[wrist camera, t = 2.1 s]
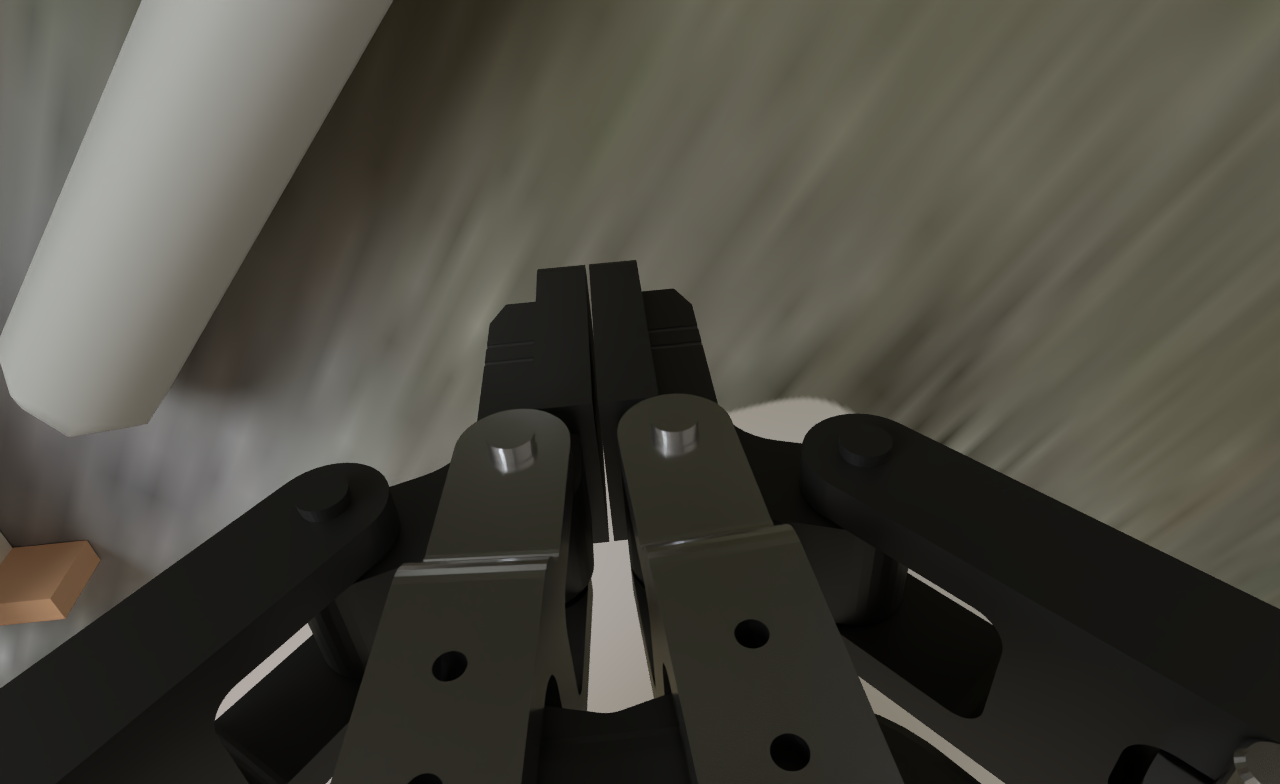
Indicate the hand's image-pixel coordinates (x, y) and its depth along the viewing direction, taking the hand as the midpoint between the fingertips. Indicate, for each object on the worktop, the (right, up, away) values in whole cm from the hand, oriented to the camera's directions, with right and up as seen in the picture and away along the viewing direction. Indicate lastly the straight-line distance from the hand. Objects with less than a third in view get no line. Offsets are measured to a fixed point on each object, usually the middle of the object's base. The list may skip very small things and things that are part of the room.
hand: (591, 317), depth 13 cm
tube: (-10, +8, +11) cm, 17 cm away
